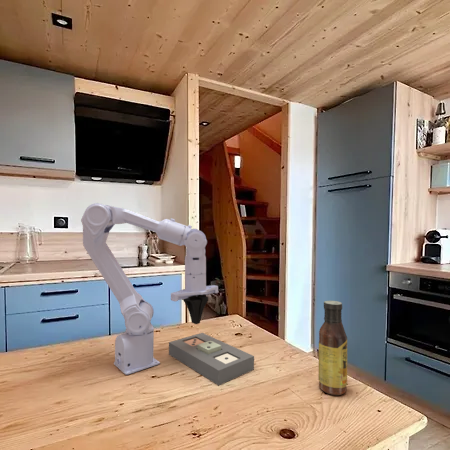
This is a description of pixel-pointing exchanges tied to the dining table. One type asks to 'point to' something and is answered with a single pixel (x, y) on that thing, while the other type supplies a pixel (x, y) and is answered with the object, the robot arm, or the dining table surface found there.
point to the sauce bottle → (332, 351)
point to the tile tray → (211, 359)
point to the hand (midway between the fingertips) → (195, 322)
